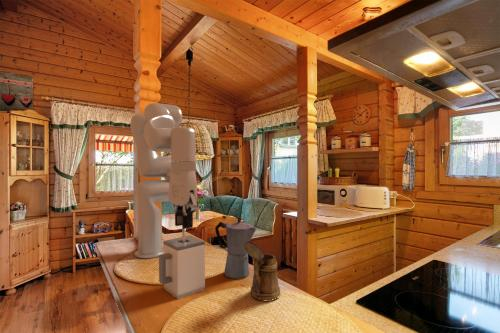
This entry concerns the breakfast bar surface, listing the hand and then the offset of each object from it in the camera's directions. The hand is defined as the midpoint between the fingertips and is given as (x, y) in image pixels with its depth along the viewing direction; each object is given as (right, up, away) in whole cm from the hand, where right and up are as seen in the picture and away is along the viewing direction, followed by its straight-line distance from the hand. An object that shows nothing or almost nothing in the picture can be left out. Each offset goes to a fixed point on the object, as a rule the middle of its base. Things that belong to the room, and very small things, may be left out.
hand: (183, 226), depth 87 cm
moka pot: (+15, -20, +12) cm, 28 cm away
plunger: (0, -13, 0) cm, 13 cm away
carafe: (-1, -20, -1) cm, 20 cm away
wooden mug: (+24, -20, -5) cm, 32 cm away
